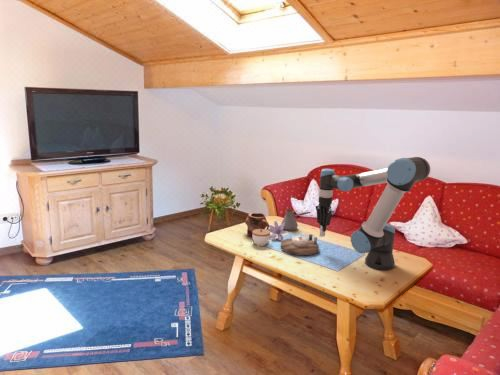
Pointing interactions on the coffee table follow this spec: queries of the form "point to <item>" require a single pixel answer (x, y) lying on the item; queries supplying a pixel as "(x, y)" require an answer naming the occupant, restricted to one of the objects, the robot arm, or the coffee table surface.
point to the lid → (299, 241)
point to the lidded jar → (260, 236)
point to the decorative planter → (256, 222)
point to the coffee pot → (291, 220)
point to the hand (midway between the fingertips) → (322, 236)
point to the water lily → (277, 231)
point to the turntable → (309, 249)
